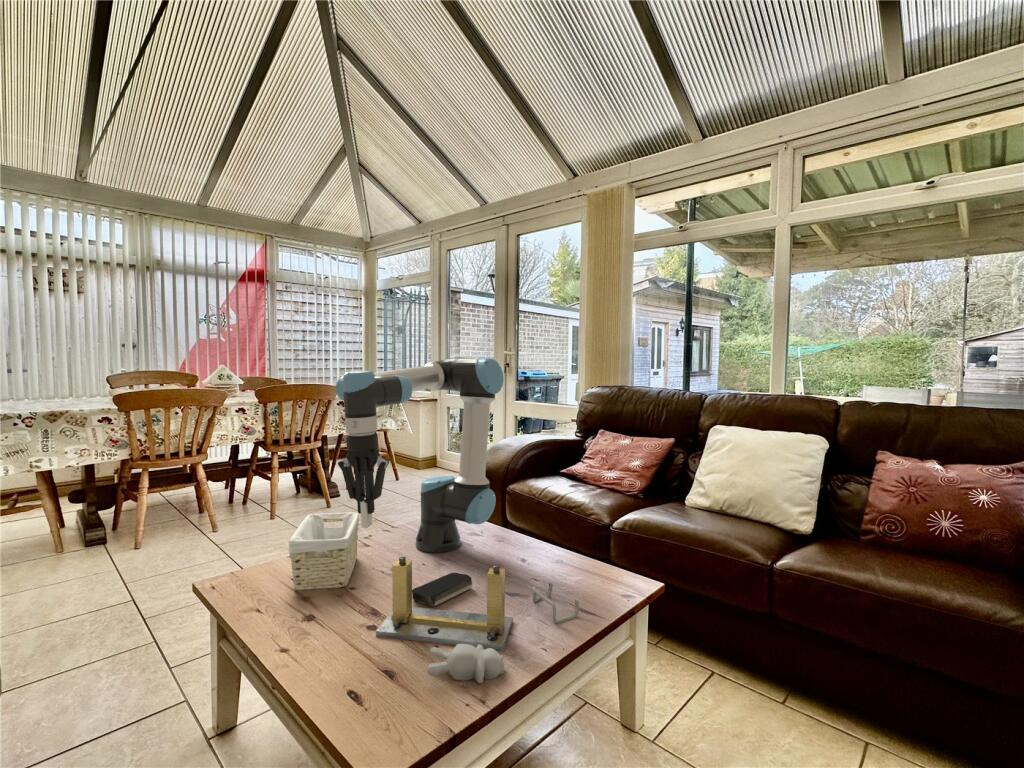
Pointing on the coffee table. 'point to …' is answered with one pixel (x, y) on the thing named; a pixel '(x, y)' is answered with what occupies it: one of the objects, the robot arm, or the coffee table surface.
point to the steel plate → (446, 630)
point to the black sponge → (442, 589)
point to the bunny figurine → (468, 662)
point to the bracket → (545, 598)
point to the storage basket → (324, 551)
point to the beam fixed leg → (493, 607)
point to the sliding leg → (402, 590)
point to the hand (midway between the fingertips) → (367, 525)
